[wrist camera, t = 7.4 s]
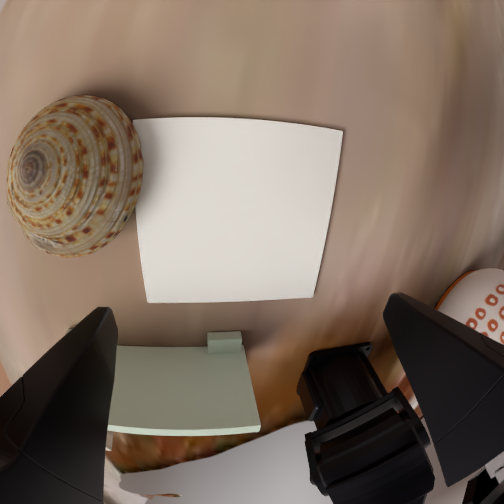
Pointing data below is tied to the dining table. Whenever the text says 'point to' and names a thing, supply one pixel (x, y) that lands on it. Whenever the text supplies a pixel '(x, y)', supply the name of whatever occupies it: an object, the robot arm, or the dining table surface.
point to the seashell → (75, 175)
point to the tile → (233, 207)
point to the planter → (477, 302)
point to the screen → (184, 389)
